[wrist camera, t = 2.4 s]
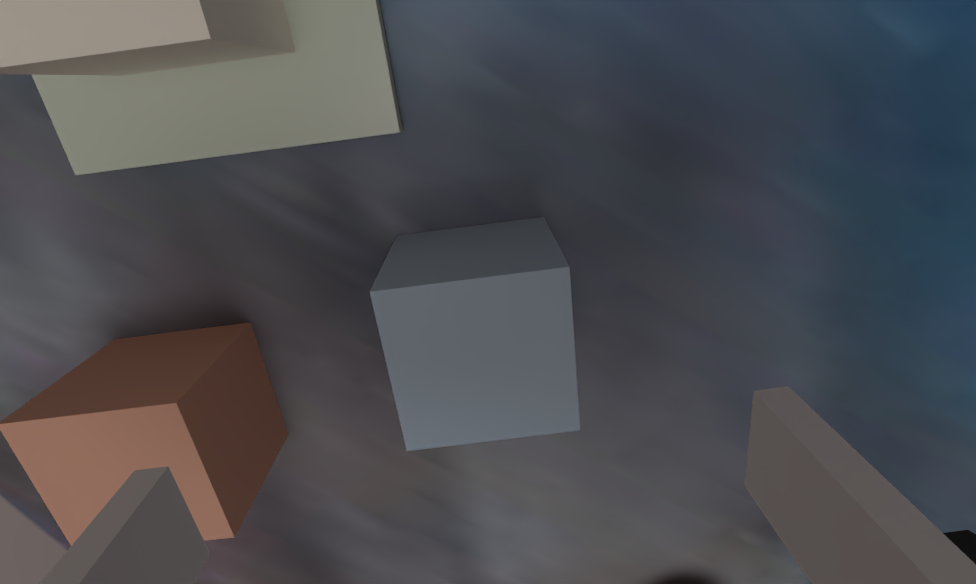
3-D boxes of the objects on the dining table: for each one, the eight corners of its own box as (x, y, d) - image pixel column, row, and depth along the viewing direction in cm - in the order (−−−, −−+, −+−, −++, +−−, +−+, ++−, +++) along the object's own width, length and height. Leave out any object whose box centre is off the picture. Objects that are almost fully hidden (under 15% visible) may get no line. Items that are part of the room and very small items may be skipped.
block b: (543, 216, 21) (569, 266, 15) (554, 345, 23) (580, 430, 17) (397, 235, 21) (369, 292, 15) (422, 361, 23) (406, 451, 17)
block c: (251, 321, 22) (176, 402, 16) (288, 433, 24) (234, 537, 19) (116, 338, 22) (-4, 424, 17) (166, 447, 24) (76, 555, 19)
